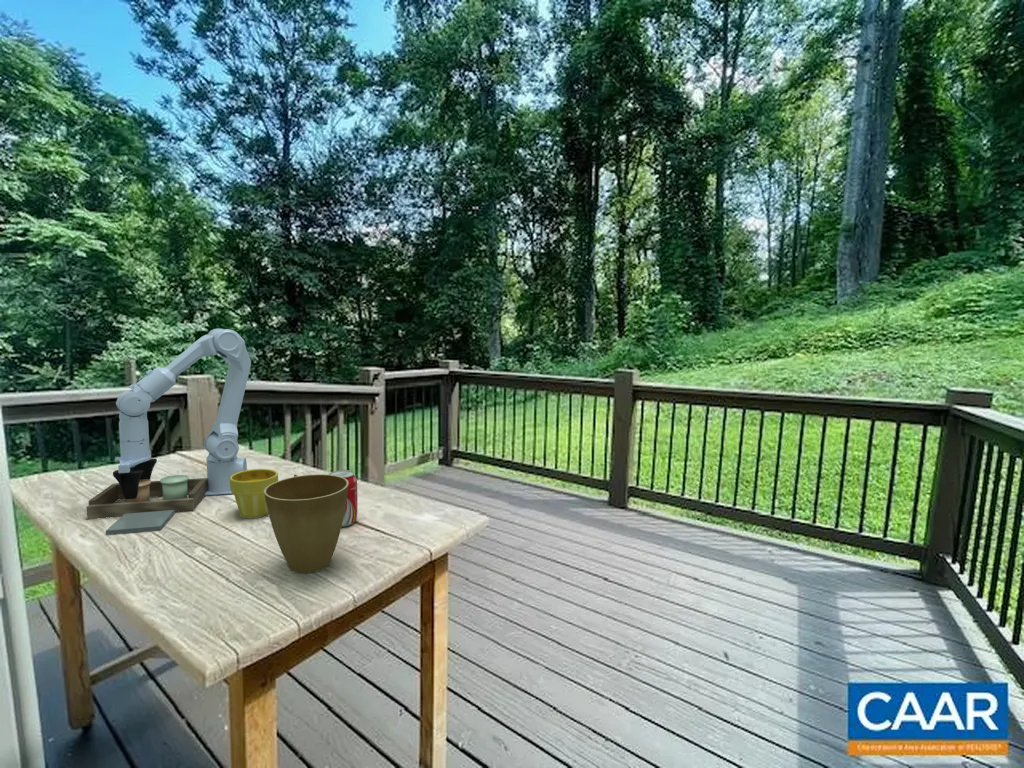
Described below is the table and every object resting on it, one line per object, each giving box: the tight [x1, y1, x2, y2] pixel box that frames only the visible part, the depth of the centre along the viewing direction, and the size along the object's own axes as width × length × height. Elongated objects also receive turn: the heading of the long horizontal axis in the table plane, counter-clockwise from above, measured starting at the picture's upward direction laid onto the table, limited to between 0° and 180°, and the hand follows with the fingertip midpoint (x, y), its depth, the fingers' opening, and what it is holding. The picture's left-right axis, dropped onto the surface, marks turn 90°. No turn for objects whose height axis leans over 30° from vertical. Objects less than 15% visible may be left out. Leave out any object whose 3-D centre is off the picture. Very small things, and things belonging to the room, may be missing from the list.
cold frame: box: [85, 477, 208, 520], centre depth 125 cm, size 21×14×4 cm
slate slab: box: [105, 510, 176, 536], centre depth 114 cm, size 10×10×1 cm
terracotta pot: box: [125, 479, 152, 503], centre depth 124 cm, size 6×6×6 cm
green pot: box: [159, 474, 190, 500], centre depth 127 cm, size 6×6×6 cm
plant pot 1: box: [230, 468, 279, 519], centre depth 122 cm, size 10×10×10 cm
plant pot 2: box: [264, 473, 349, 575], centre depth 96 cm, size 15×15×16 cm
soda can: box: [327, 469, 358, 528], centre depth 117 cm, size 7×7×12 cm
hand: (137, 493), depth 124 cm, fingers open, 7 cm apart
